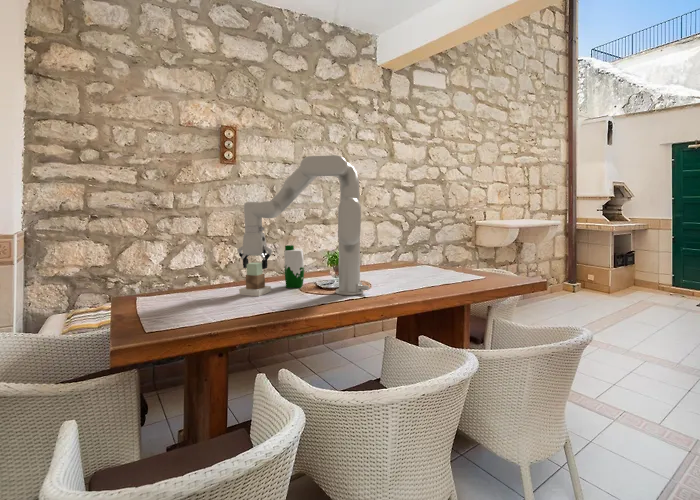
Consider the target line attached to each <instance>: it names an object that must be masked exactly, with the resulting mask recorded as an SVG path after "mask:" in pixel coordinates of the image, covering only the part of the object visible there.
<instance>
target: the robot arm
mask: <svg viewBox="0 0 700 500" xmlns="http://www.w3.org/2000/svg"><path fill="white" fill-rule="evenodd" d="M317 177H334V178H336V179H338V180H339V193H340V195H339V204H338V209H337V212H338V213H337V237H338V288H336V289H335V294H337V295H341V296H358V295H362V294H364V291H369V290H370V286H369V285H366V284H365V285H364V284H363V282H361V227H362V226H361V224H362V223H361V221H362V219H361V218H362V214H361V213H362V208H361V207H362V206H361V204H360V203H361V202H360V179H359V174H358V172H357V170H356V169H355V167H354V166H353V165H352V164H351V163H349V162H348V161H347V160H346V159H345V158H344V157H343V156H341V155H336V154H335V155H308V156H305V157H304V158H303V159H302V160H301V161H300V165H299V166H298V167H297V168H296V169H295V170H294V171H293V172H292V174H290V175H289V176H288V177H287V178H286V179H285V181H284V182H283V185H282V187H281V189H280V190H279V191H278V193H276V194H275V196H273V198H272V199H271V200H267V201H261V202H259V201H246V202H244V204H243V214H244V215H243V217H244V218H243V219H244V233H243V235H242V246H240V247H239V248H237V253H238V256H239V257H240V258H241V260H242V268H243V269H247V264H248V263H249V258H248V257H249V256H256V257H257V256H259V257H261V263H262V270H265V269H268V260H269V258H270V257H271V256H272V253H273V250H272V249H271V248H269V247H268V246H267V240H266V235H265V232H263V231H265V230H266V229H265V227H263V219H274V218H277V217H279V216H280V215H281V214H282V213H283V212H284V211H285V210H286V209H287V208H288V207H289V206H290V205H291V204H292V203H293V202H294V201H295V200H296V199H297V198H298V197H299V196H300V194H302V192H303V191H304V190H306V189H307V187H308V186H309V185H310V184H312V183H313V181H315V180H316V178H317Z"/></svg>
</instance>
